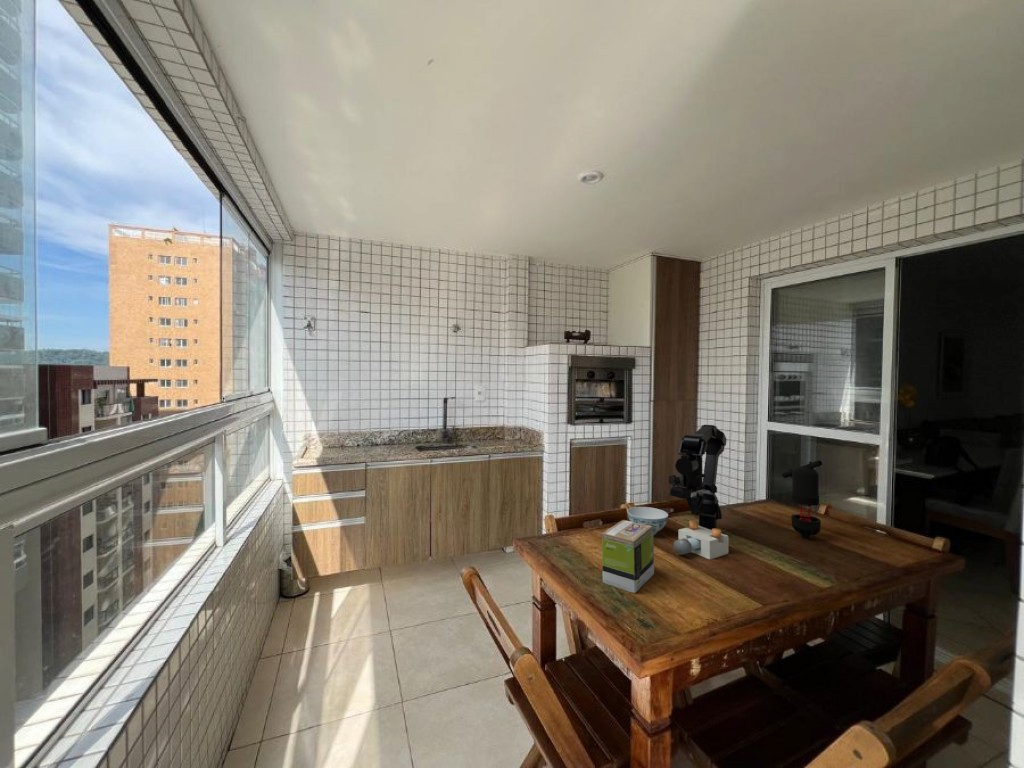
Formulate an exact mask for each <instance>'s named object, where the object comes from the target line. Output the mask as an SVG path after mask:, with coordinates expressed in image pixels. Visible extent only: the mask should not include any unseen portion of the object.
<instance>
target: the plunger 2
mask: <svg viewBox="0 0 1024 768" xmlns="http://www.w3.org/2000/svg"><path fill="white" fill-rule="evenodd" d="M721 533H722V529H720V528H717V529H716V528H713V529H712V537H714V538H717V539H721Z"/></svg>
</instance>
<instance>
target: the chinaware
mask: <svg viewBox="0 0 1024 768" xmlns="http://www.w3.org/2000/svg"><path fill="white" fill-rule="evenodd" d="M627 517H628V519H629V520H628V521H631V522H635V523H640V524H645V525H650V526H653V536H655V535H657V533H658V532H660V531H661V530H662V529H663V528H664V527H665V526H666V524H667V522H668V519H669V513H668V512H667V511H664V510H662V509H659V508H656V507H655V508H654V507H649V506H632V507H630V508H628V509H627Z"/></svg>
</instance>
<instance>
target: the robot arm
mask: <svg viewBox="0 0 1024 768" xmlns="http://www.w3.org/2000/svg"><path fill="white" fill-rule="evenodd" d="M725 446H727V437H726V435H725V432H723V431H722V430H720V429H719V428H718V427H717V426H716V425H715V424H703V425H701V427H700V428H699V429H698V430H696V431H695V432H694V433H687V434H685V435H683V437H681V441H680V445H679V448H678V453H677V454H678V455H680V458H678V459H677V460H676V462H675V465H674V466H675V469H676V471H677V473H679V474H681V476H677V475H675V474H671V475H669V476H668V483H669V485H671V487H670V489H669V496H671V497H675V498H678V499H682V500H686V502H687V504H688V507H689V510H690V513H691V515H694V516H698V526H701V527H704V528H707V529H710V530H712V529H713V528H716V529H718V528H717V525H718V524H717V521H718V520H722V518H723V515H722V508H721V507H720V504H719V499H718V497H717V495H716V494H717V493H718V486H717V484H716V483H717V474H718V465H719V457H720V456H721V455H722V453H724V451H725ZM704 455H705V458H704V459H705V461H704V469H703V457H704Z"/></svg>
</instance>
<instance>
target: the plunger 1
mask: <svg viewBox="0 0 1024 768" xmlns="http://www.w3.org/2000/svg"><path fill="white" fill-rule="evenodd" d="M698 526H699V521H696V520H689V527H688V528H689V529H692V530H698Z"/></svg>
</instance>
